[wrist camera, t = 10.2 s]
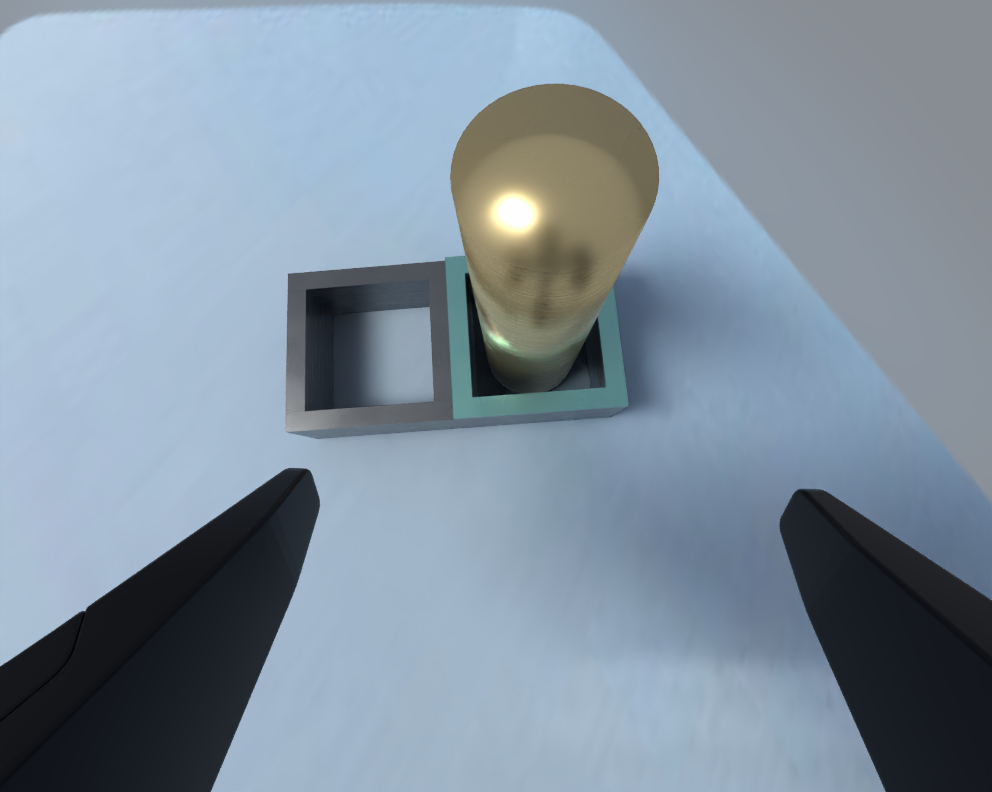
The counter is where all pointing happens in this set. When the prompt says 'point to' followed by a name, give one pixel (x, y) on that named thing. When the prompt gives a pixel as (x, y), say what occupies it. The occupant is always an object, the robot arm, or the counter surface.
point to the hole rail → (451, 356)
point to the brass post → (548, 221)
